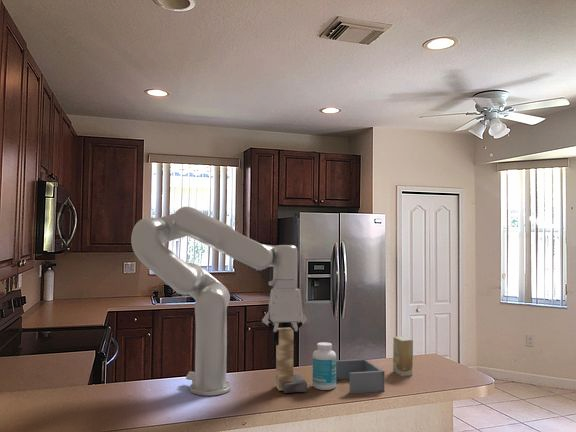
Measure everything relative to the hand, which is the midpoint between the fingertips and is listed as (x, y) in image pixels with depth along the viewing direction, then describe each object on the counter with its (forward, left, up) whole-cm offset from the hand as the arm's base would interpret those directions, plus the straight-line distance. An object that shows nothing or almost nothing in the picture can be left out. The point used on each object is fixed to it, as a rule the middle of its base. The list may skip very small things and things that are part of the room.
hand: (284, 343), depth 146 cm
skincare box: (+28, +35, -14) cm, 47 cm away
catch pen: (+19, +16, -14) cm, 28 cm away
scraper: (+1, +1, -14) cm, 14 cm away
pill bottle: (+10, +8, -14) cm, 19 cm away
